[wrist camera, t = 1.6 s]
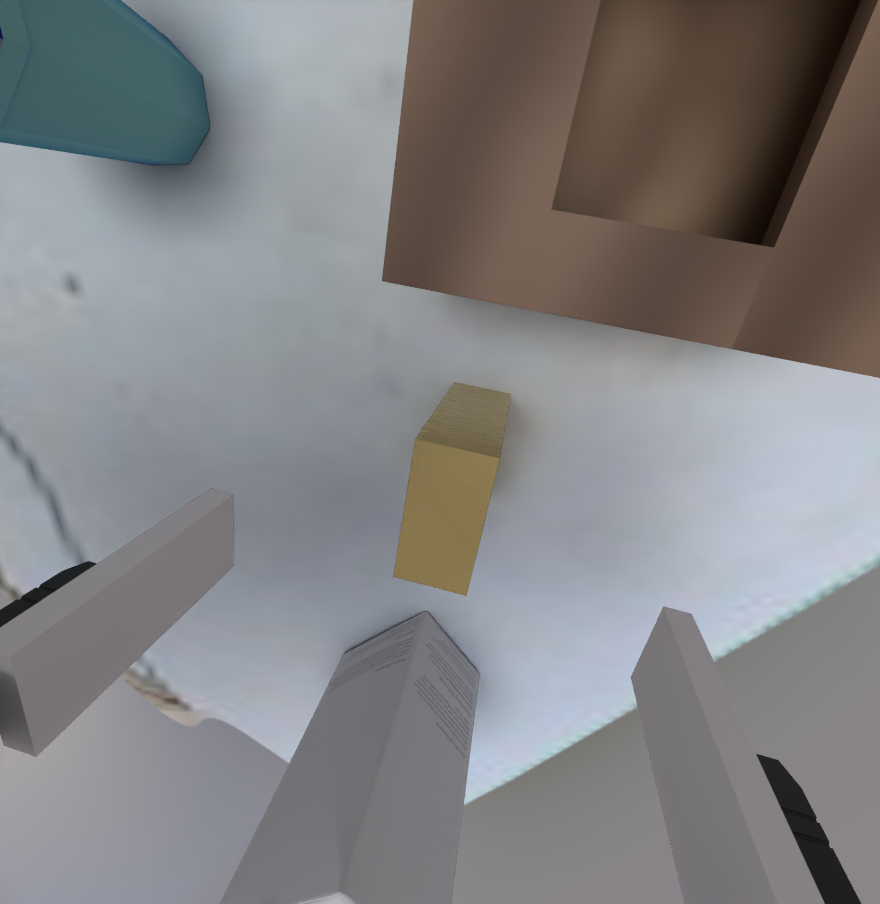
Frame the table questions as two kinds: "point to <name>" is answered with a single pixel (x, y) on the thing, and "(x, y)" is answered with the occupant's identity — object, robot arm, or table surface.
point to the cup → (97, 83)
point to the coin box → (650, 167)
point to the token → (451, 488)
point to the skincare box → (372, 781)
